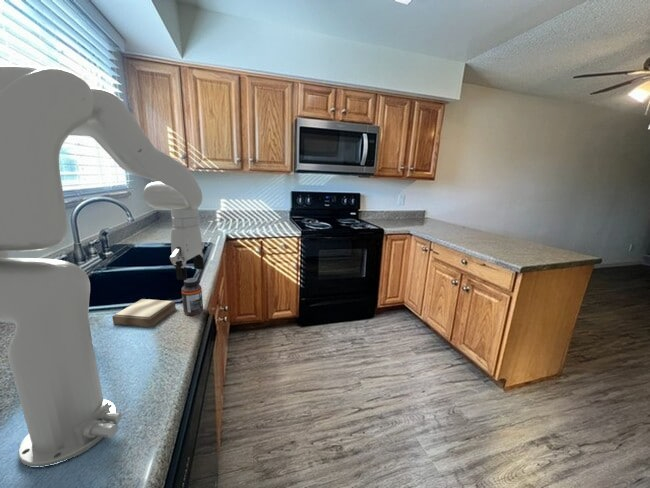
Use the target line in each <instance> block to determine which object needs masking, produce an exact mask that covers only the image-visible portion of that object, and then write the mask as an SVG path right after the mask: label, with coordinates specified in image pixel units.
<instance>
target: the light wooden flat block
mask: <svg viewBox="0 0 650 488" xmlns="http://www.w3.org/2000/svg"><path fill="white" fill-rule="evenodd" d="M174 309H175V310H176V309H177V308H176V301H173V300H162V299H161V300H160V299H150V298H148V299H146V298H141V299H139V300H138V301H135V302H134V303H132V304H130V305H128V306H127V307H125V308H124V309H122V310H120V311H118V312H117V313H115V314H113V315H112V324H113V325H120V324H123V325H122V326H132V327H134V326H135V327H147V328H151V327H153V326H154V325H156V324H157V323H158V322H160V321H161V320H162V319H164V318H165V317H166V316H169V314H170V312H171V313H172V312H174V311H175V310H174Z"/></svg>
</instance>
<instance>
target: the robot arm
mask: <svg viewBox="0 0 650 488" xmlns="http://www.w3.org/2000/svg"><path fill="white" fill-rule="evenodd" d="M69 136H83V137H90V138H93V139H94V140H95V141H96V143H98V145H100V147H101V148H102V149H103V150H104V151H105V152H106V153H107V154H108V155H109V156H110V157H111V159H113V161H114V162H115V163H116V164H117V165H118V166H119V168H121V169H122V170H123V171H126V172H128V173H131V174H133V175H135V176H138V177H141V178H144V179H148V180H151V182H150V183H148V184H147V185H146V186H145V187H144V189H143V191H142V197H143V200H144V202H145V204H146V205H148V206H149V207H151V208H152V209H158V210H170V216H171V225H172V228H171V233H170V247H171V248H170V249H171V255H170V256H169V260H170V262H171V265H172V266H173V268H174V269H175V277H176V280H179V281H184V280H187V279H188V273H187V267H186V264H187V261H189V260H191V259H192V261H193V269H194V270H204V269H205V265H204V264H205V263H204V257H205V255H204V251H205V242H204V241H202V234H201V229H200V216H199V207H200V206H201V205H202V203H203V192H202V190H201V187H200V185H199V183H198V182H197V180H196V178H195V176H194V175H193V173H192V172H191V171H190V170H189V169H188V168H187V167H186V166H185V165H183V164H182V163H180V162H179V161H177V160H175V159H174V158H173V157H171V156H170V155H168V154H167V153H165V152H163V151H161V150H159V149H158V148H157V147H155V146H154V144H153V143H152V142H151V140H150V139H149V137H148V135H147V134H146V133H145V132H144V130H143V128H141V126H140V124H139V123H138V122H137V120H136V119H135V117H134V116H133V115H132V113H131V111H130V110H129V109H128V108H127V106H126V105H125V103H124V102H123V101H122V100H121V98H120V97H118V95H116V94H114V93H113V92H112V91H109V90H106V89H103V88H102V89H101V88H97V87H96V88H95V87H90V85H89V84H88V82H86V81H85V80H84V79H83V78H82V77H80V75H77V74H75V73H74V72H72V71H68V70H67V69H66V70H65V69H62V68H57V67H53V66H52V67H51V66H39V65H35V66H34V65H0V322H3V323H5V322H7V323H13V324H14V325H15V331H14V334H13V336H12V339H11V340H10V343H9V345H8V349H7V357H8V358H7V359H8V363H9V367H10V370H11V373H12V376H13V379H14V380H13V381H14V383H15V384H14V385H15V388H16V391H17V395H18V399H19V403H20V405H21V406H20V407H21V409H22V414H23V417H24V420H25V423H26V427H27V428H26V429H27V430H28V433H27V434H26V436H25V437H24V438H23V439H22V441H21V443H20V445H19V446H18V447H19V448H18V451H17V452H18V453H17V454H18V459H19V460H21V461H20V462H22V463H23V465H24V464H25V465H27V466H26V467H28V466H39V467H40V466H45V465H50V464H54V463H57V462H60V461H64V460H66V459H70V458H72V457H74V458H76V457H77V455H78V456H80V455H81V454H83V453H85V452H86V451H88V450H90V449H91V448H92V447H94V446H96V445H97V444H98V443H99V442H100V441H101V440H102V439H103V438H105V439H111V438H113V437H114V436H115V435H116V433H117V431H118V430H119V428H118V427H119V426H118V424H115V423H118V422H120V421H121V419H122V416H123V414H122V412H118V411H117V408H116V405H115V404H114V403H113V402H112V401H111V400H107V399H104V396H103V392H102V391H103V389H102V385H101V380H100V376H99V370H98V363H97V359H96V353H95V348H94V343H93V337H92V333H91V327H90V325H91V324H90V318H89V317H90V315H89V313H90V312H89V310H90V309H89V308H90V307H89V306H90V296H91V295H90V294H91V282H90V279H89V276H88V274H87V273H86V271H85V270H84V269H83V268H81V267H80V266H78V265H77V264H75V263H73V262H70V261H67V260H61V259H57V258H56V259H54V258H41V257H37V258H36V257H34V258H33V257H10V252H35V251H43V250H50V249H52V248H55V247H56V246H59V245H60V244H61V243H62V242H64V240H66V237H67V234H68V216H67V211H66V210H67V209H66V203H65V196H64V191H63V183H62V177H61V172H60V171H61V170H60V152H61V150H62V146H63V145H64V143H65V141H66V140H67V139H68V137H69ZM152 181H153V182H152ZM180 261H181V262H180ZM75 456H76V457H75ZM72 459H73V458H72ZM70 460H71V459H70ZM22 463H21V464H22ZM25 465H24V466H25Z"/></svg>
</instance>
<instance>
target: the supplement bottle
mask: <svg viewBox="0 0 650 488" xmlns="http://www.w3.org/2000/svg"><path fill="white" fill-rule="evenodd" d="M202 290H203V289H202V286H201V285H200V284H199V280H198V278H195V277H190V278H187V280H183V286H182V287H181V300H182V309H183V313H184V314H185V315H188V316H194V315H197V314H200V313H202V312H203V310H204V303H203V302H204V300H203V293H202V292H203V291H202Z"/></svg>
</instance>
